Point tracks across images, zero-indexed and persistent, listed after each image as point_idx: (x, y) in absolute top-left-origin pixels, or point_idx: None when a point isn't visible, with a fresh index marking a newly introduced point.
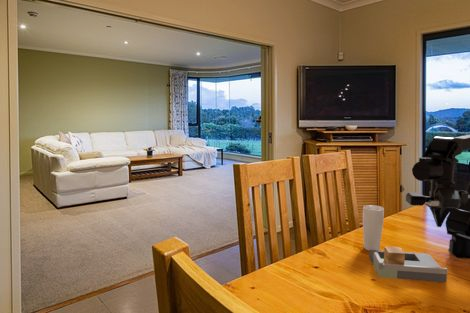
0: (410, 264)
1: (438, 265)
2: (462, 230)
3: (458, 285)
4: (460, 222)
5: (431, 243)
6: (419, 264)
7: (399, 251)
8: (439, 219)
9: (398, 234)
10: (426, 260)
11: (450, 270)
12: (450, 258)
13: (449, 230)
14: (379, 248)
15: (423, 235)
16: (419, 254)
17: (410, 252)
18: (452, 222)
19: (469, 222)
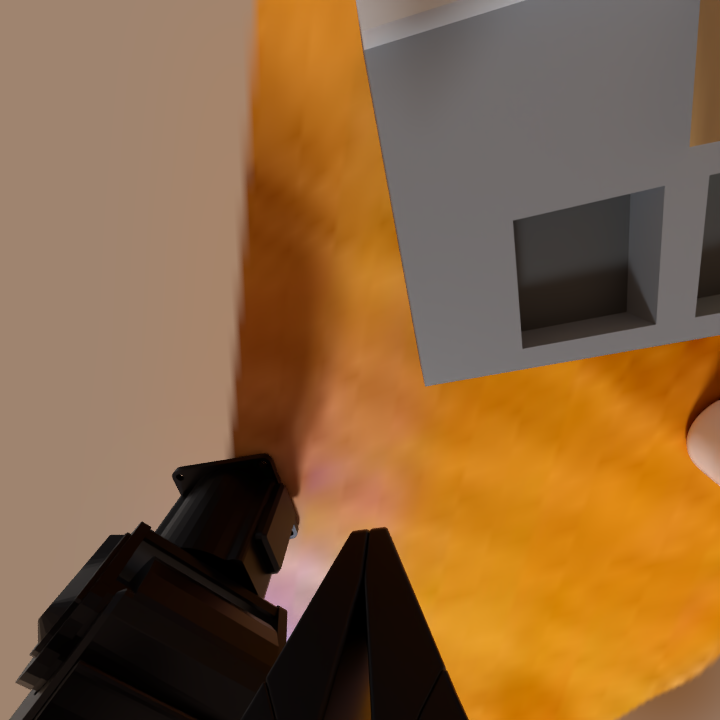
0: (611, 116)
1: (394, 193)
2: (162, 595)
3: (292, 40)
4: (145, 692)
5: None
6: (535, 148)
7: None
8: (376, 630)
9: (507, 642)
10: (462, 259)
11: (314, 277)
12: (298, 441)
13: (268, 624)
14: (701, 424)
15: None
16: (488, 351)
17: (544, 364)
18: (222, 695)
19: (49, 691)
